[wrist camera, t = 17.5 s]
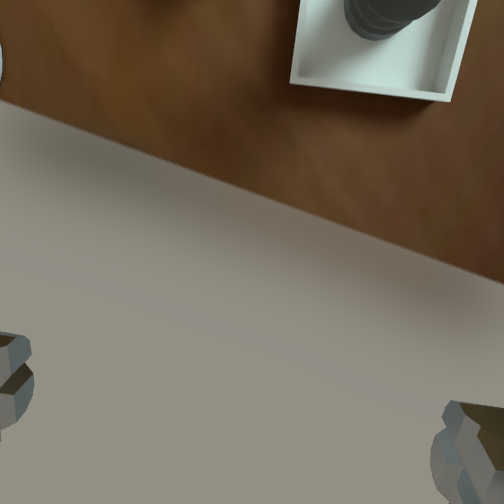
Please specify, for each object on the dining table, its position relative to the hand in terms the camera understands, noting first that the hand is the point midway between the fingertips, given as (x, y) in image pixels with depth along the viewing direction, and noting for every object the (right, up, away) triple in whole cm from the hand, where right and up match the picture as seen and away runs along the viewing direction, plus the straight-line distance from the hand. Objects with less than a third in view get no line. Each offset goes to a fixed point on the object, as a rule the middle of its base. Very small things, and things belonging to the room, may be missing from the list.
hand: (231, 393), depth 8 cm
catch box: (+12, +25, +29) cm, 40 cm away
